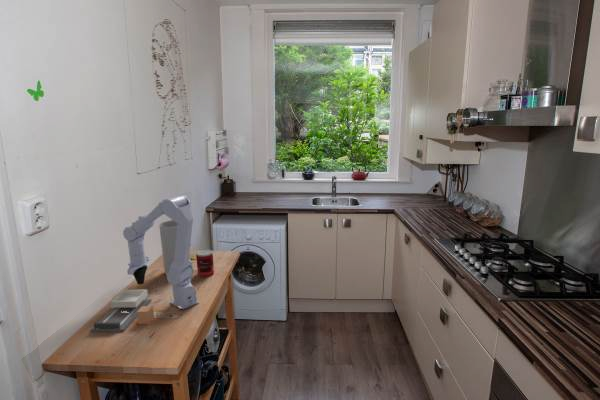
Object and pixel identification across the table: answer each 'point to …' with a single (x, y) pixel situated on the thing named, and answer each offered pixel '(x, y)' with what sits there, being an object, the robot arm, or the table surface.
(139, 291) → the white shallow tray
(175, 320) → the table surface
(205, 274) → the canned food
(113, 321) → the track
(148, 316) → the block
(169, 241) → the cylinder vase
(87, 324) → the table surface
